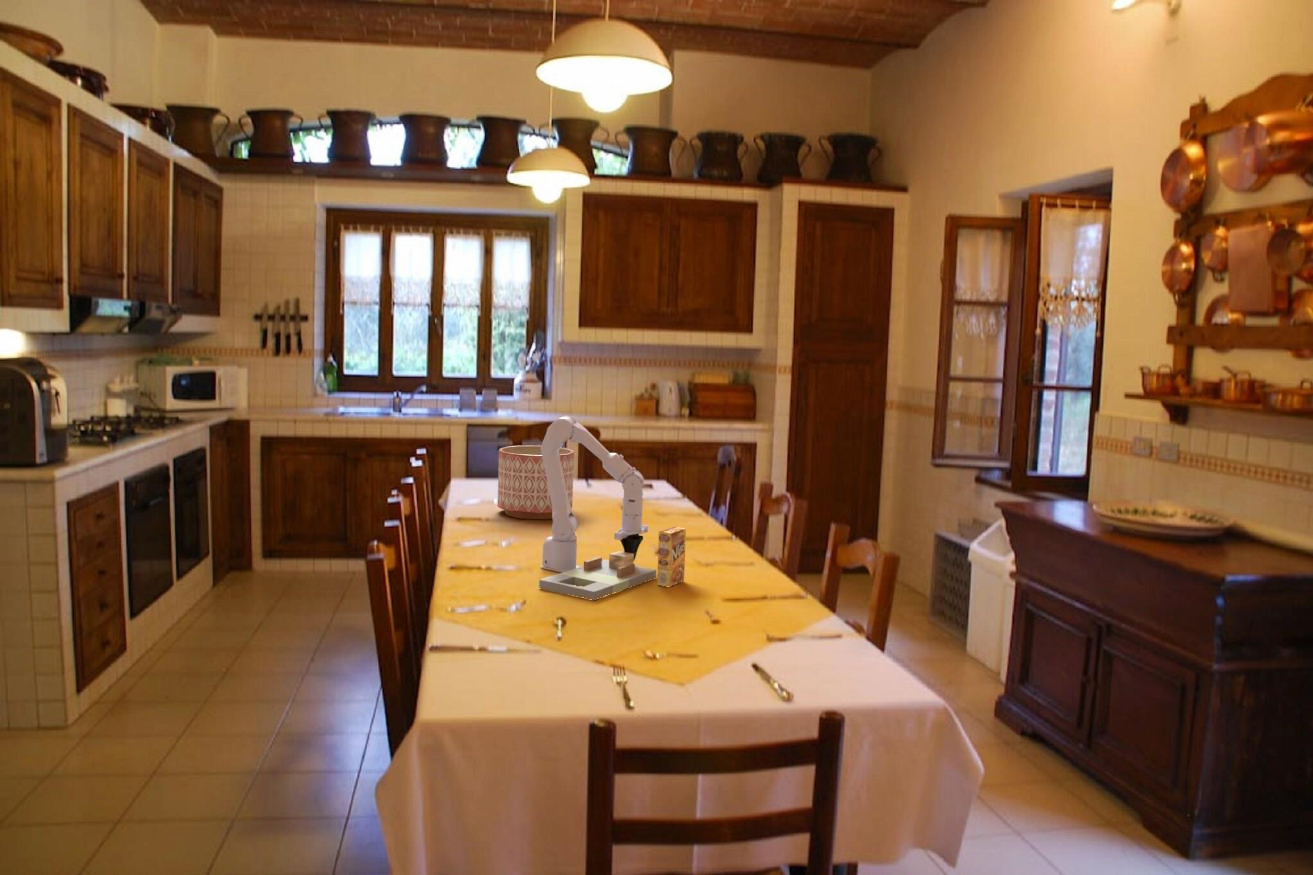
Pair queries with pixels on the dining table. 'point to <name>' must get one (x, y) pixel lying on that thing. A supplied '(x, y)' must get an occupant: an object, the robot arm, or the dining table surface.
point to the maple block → (620, 559)
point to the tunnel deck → (596, 579)
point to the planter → (529, 481)
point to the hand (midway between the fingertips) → (630, 560)
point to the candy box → (671, 556)
